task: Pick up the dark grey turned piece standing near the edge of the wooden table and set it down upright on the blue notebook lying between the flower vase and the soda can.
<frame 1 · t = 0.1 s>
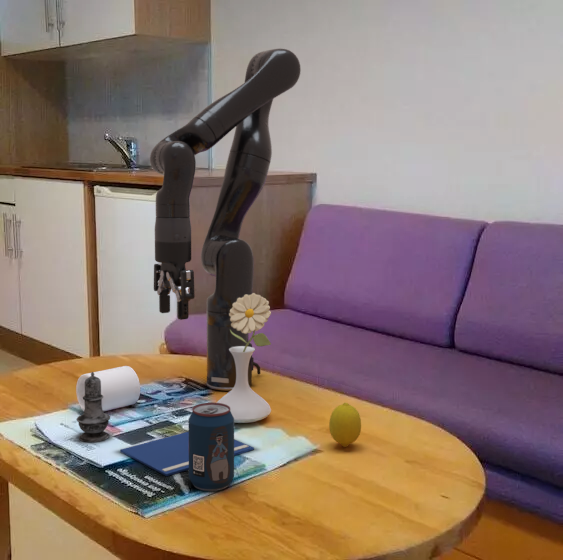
hand: (173, 315, 162), 17 cm above the table, tool pointing down, fingers open, 8 cm apart
dark grey turned piece: (94, 438, 138), on the table
flower in vase: (244, 420, 149), on the table
mug: (103, 407, 156), on the table
soda can: (211, 484, 119), on the table
lemon: (344, 448, 135), on the table
blue notebook: (187, 450, 132), on the table
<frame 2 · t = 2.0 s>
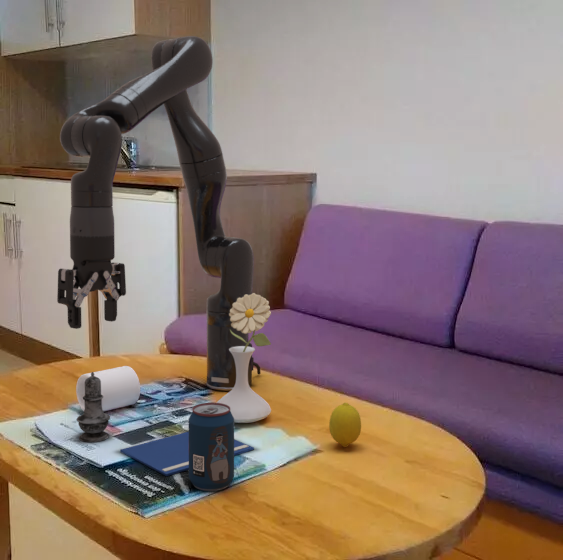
hand: (93, 324, 136), 20 cm above the table, tool pointing down, fingers open, 8 cm apart
nothing on the table moved.
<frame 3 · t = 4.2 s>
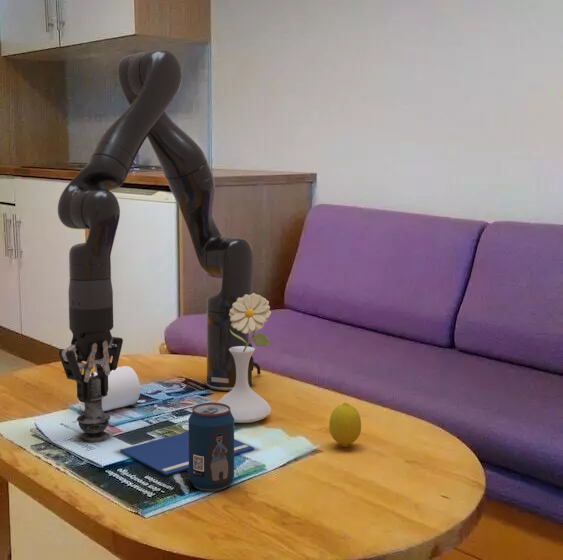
hand: (93, 398, 137), 7 cm above the table, tool pointing down, fingers closed on dark grey turned piece, 3 cm apart
dark grey turned piece: (94, 438, 138), on the table, touching gripper
everything else where it was.
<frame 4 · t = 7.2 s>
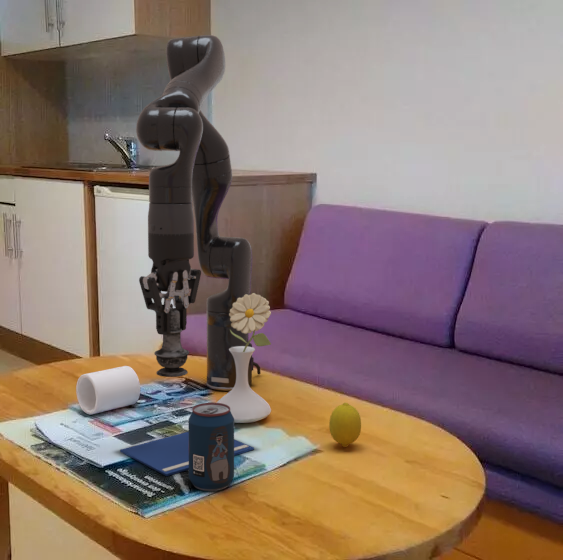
hand: (171, 331, 130), 21 cm above the table, tool pointing down, fingers closed on dark grey turned piece, 3 cm apart
dark grey turned piece: (172, 374, 131), point 13 cm above the table, touching gripper
everything else where it was.
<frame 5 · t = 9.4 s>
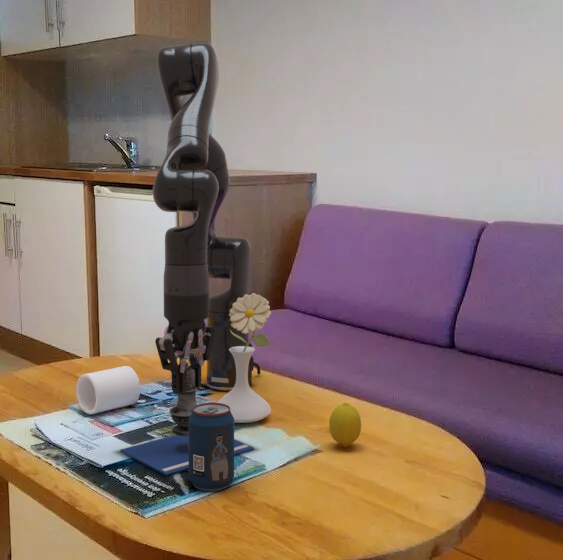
hand: (186, 389, 131), 11 cm above the table, tool pointing down, fingers closed on dark grey turned piece, 3 cm apart
dark grey turned piece: (186, 431, 132), point 3 cm above the table, touching gripper
everything else where it was.
when the fingers open (8 cm above the table, at t = 10.6 s): dark grey turned piece stays where it is, resting on blue notebook.
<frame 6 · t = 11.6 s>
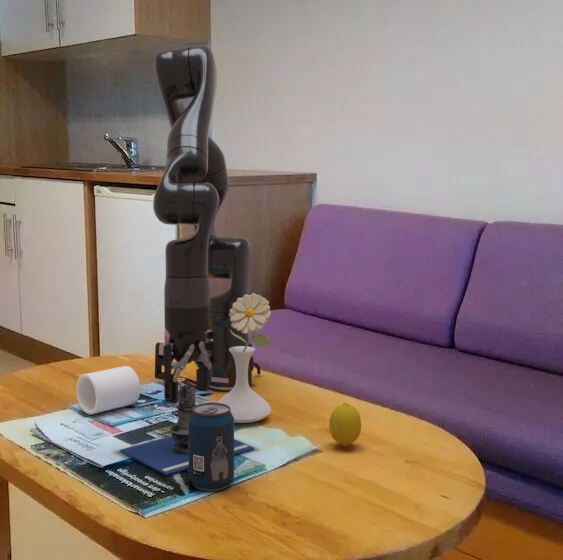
hand: (187, 396, 131), 10 cm above the table, tool pointing down, fingers open, 8 cm apart
dark grey turned piece: (187, 449, 132), resting on blue notebook
everything else where it was.
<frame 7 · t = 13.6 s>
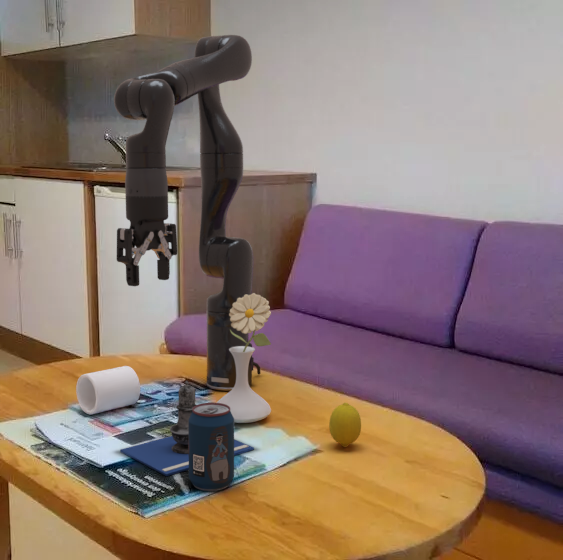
hand: (148, 282, 141), 27 cm above the table, tool pointing down, fingers open, 8 cm apart
nothing on the table moved.
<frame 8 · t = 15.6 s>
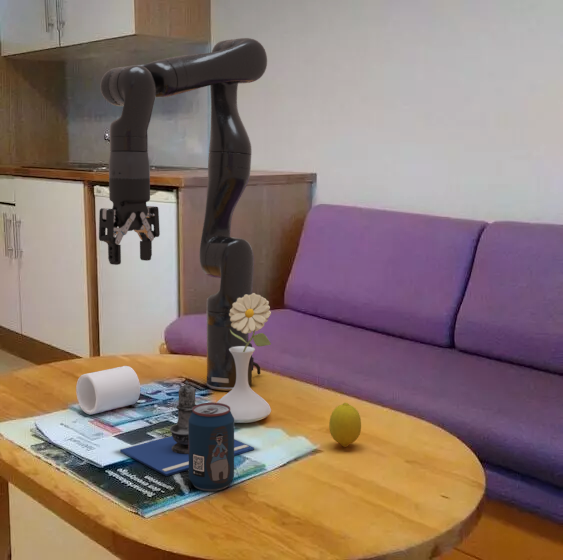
hand: (130, 262, 147), 30 cm above the table, tool pointing down, fingers open, 8 cm apart
nothing on the table moved.
at the end: dark grey turned piece inside the target area on the blue notebook (0.1 cm from its centre), point 0.2 cm above the blue notebook's base; dark grey turned piece tilted 0°; the gripper is holding nothing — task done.
